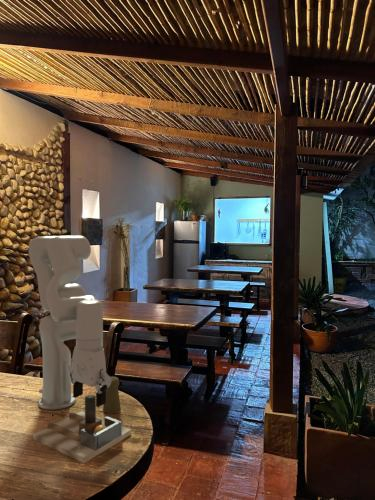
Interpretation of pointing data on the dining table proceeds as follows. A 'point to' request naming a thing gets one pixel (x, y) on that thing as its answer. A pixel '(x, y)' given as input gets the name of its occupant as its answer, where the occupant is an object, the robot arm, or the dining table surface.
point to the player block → (90, 415)
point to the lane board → (72, 438)
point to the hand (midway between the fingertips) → (89, 400)
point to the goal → (102, 434)
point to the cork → (112, 397)
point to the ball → (99, 428)
